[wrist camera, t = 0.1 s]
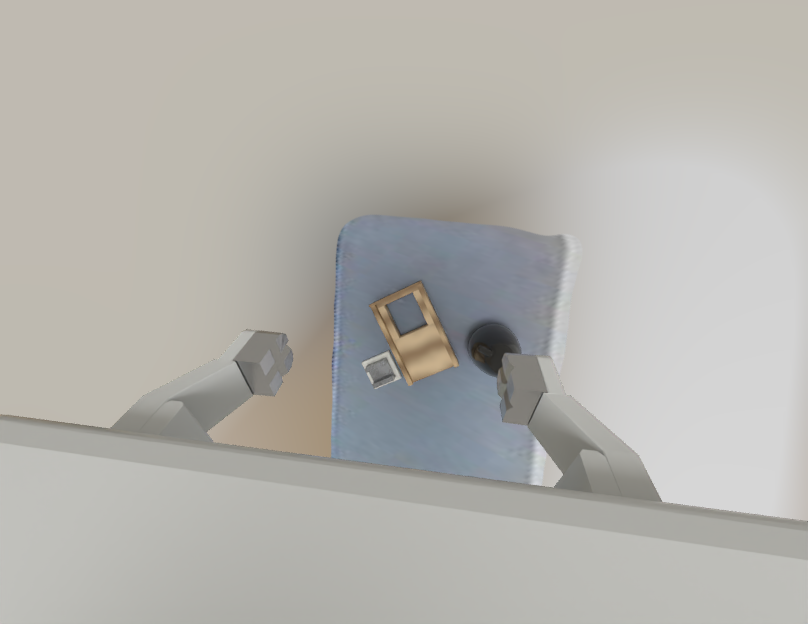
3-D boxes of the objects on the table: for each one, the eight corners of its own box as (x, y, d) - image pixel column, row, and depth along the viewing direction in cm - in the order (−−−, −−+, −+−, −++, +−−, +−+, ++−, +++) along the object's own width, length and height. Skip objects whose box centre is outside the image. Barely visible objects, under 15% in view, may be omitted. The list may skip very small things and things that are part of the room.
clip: (395, 376, 67) (393, 380, 65) (376, 384, 68) (374, 388, 66) (386, 357, 67) (384, 360, 64) (367, 365, 68) (364, 368, 65)
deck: (457, 360, 66) (459, 367, 62) (410, 379, 68) (408, 387, 64) (421, 280, 64) (419, 281, 60) (373, 302, 66) (368, 305, 62)
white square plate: (401, 376, 68) (401, 378, 67) (375, 387, 70) (374, 389, 68) (389, 349, 68) (388, 351, 67) (362, 361, 69) (361, 363, 68)
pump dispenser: (483, 311, 64) (496, 325, 49) (523, 337, 64) (549, 358, 49) (456, 348, 66) (462, 372, 51) (495, 373, 66) (512, 405, 51)
